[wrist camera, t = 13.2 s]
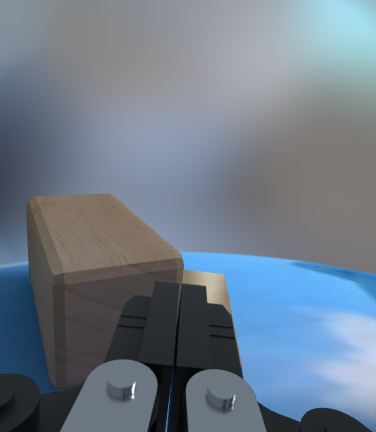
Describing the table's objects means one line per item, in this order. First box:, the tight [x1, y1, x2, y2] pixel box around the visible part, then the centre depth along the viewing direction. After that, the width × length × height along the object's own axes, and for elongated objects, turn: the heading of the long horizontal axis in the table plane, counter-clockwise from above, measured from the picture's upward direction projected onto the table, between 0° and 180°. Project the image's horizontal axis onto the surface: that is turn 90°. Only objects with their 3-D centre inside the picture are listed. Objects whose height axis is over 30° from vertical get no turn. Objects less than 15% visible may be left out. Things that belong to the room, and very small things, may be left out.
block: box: [26, 194, 184, 392], centre depth 34 cm, size 10×10×20 cm
